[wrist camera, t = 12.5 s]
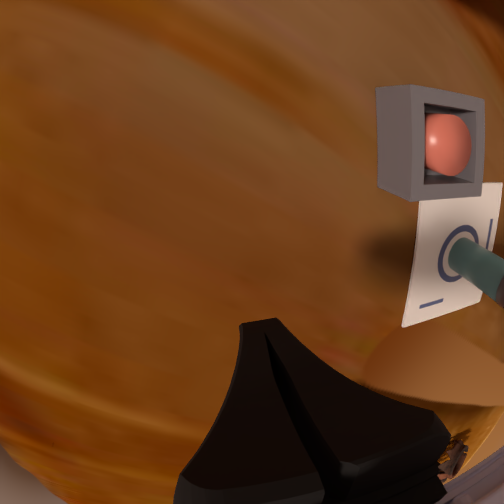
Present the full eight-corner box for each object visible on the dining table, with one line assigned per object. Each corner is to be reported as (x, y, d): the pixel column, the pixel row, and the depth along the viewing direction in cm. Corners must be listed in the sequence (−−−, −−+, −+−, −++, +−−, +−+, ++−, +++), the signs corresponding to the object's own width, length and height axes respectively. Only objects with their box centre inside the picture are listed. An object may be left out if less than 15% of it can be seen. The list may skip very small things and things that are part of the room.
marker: (467, 267, 25) (525, 308, 18) (444, 273, 25) (504, 319, 17) (474, 235, 24) (537, 271, 16) (450, 238, 23) (516, 279, 16)
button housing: (447, 183, 22) (481, 196, 18) (377, 187, 21) (410, 201, 17) (447, 97, 19) (484, 99, 15) (375, 87, 18) (410, 84, 14)
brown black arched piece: (413, 456, 43) (449, 469, 36) (439, 422, 47) (473, 431, 40) (413, 486, 45) (444, 498, 38) (438, 455, 49) (467, 464, 42)
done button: (447, 168, 19) (470, 175, 17) (406, 169, 19) (429, 176, 17) (447, 115, 18) (471, 117, 16) (406, 110, 17) (430, 111, 15)
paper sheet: (477, 300, 28) (480, 302, 27) (401, 325, 26) (403, 327, 26) (500, 182, 23) (503, 183, 22) (420, 184, 21) (423, 185, 21)
